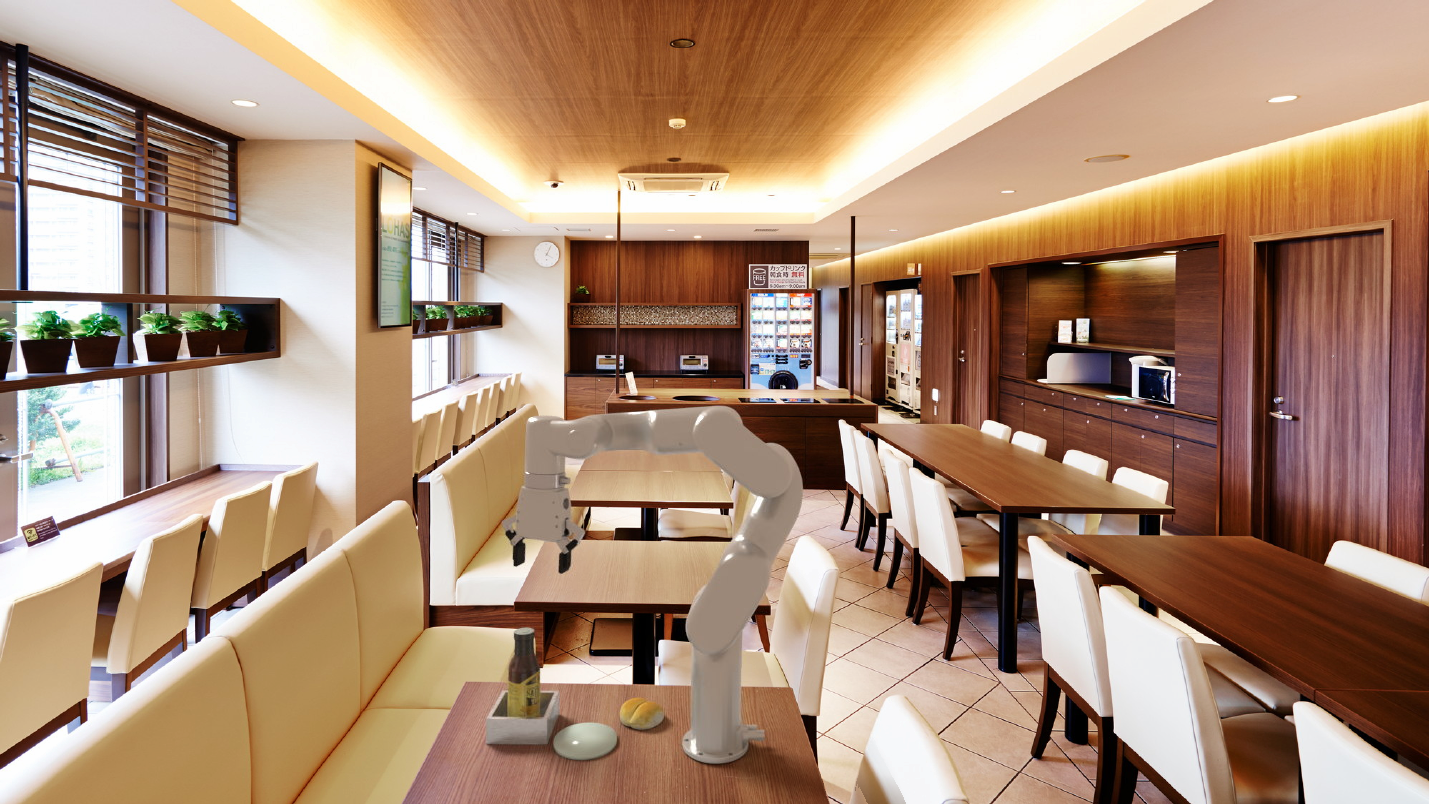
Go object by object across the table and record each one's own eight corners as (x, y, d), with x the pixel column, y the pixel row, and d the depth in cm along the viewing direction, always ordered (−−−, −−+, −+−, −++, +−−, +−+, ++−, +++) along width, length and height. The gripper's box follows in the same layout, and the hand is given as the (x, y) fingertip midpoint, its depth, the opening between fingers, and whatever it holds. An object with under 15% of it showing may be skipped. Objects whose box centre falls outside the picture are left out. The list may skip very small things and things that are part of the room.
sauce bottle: (531, 739, 143) (530, 639, 141) (501, 735, 144) (500, 636, 143) (545, 722, 149) (545, 626, 148) (517, 718, 151) (516, 624, 149)
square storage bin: (559, 714, 153) (559, 690, 152) (547, 744, 141) (546, 719, 141) (502, 713, 152) (502, 690, 152) (486, 744, 141) (485, 718, 140)
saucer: (620, 726, 148) (620, 722, 148) (612, 760, 136) (612, 756, 136) (560, 726, 148) (560, 722, 148) (547, 759, 136) (547, 755, 136)
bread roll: (637, 706, 157) (637, 687, 157) (669, 718, 152) (670, 700, 151) (610, 721, 150) (610, 702, 150) (643, 735, 145) (643, 716, 145)
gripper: (594, 482, 142) (590, 569, 143) (515, 473, 147) (512, 557, 148) (576, 489, 135) (572, 580, 136) (493, 479, 140) (491, 567, 141)
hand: (541, 568), depth 142 cm, fingers open, 9 cm apart
